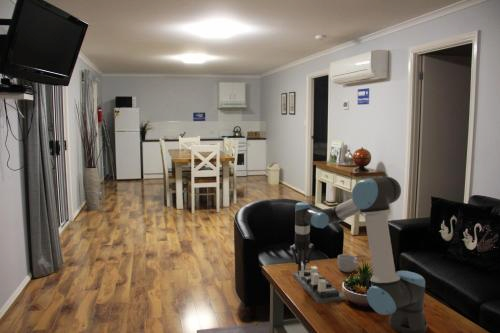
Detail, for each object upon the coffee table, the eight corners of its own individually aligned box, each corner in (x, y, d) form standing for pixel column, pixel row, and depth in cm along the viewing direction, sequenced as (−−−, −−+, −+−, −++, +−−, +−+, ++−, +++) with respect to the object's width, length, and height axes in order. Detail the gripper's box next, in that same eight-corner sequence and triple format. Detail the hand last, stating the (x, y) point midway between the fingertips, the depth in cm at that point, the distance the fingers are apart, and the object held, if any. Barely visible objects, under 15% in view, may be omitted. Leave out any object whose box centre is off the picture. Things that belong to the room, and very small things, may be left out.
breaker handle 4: (325, 291, 193) (326, 281, 192) (320, 292, 192) (320, 282, 191) (323, 288, 196) (323, 278, 195) (317, 289, 195) (318, 279, 195)
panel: (344, 299, 193) (344, 291, 193) (317, 303, 190) (317, 295, 189) (316, 273, 224) (316, 266, 223) (293, 276, 220) (293, 269, 220)
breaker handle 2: (317, 277, 209) (318, 268, 208) (312, 278, 208) (313, 268, 208) (315, 275, 212) (315, 266, 211) (310, 275, 211) (310, 266, 211)
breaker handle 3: (318, 284, 201) (319, 275, 200) (313, 285, 200) (314, 275, 199) (316, 281, 204) (316, 272, 203) (311, 282, 203) (311, 273, 202)
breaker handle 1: (306, 272, 216) (306, 263, 215) (301, 272, 215) (301, 263, 214) (304, 269, 219) (304, 261, 218) (299, 270, 218) (299, 261, 218)
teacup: (333, 267, 233) (334, 254, 232) (350, 265, 236) (350, 252, 235) (346, 277, 220) (346, 263, 218) (363, 274, 223) (364, 261, 222)
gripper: (311, 229, 210) (310, 272, 213) (287, 231, 207) (287, 274, 210) (317, 233, 203) (316, 277, 206) (293, 235, 200) (292, 280, 203)
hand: (301, 276), depth 208 cm, fingers closed
